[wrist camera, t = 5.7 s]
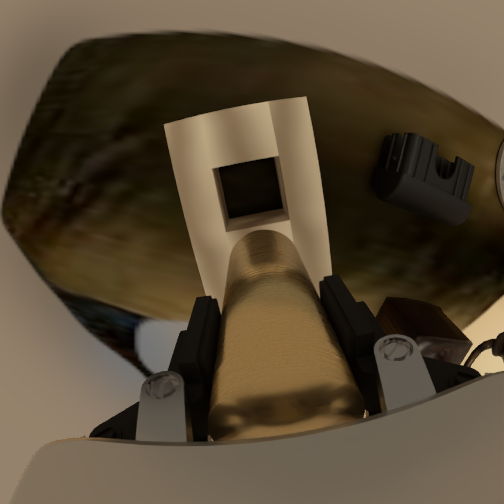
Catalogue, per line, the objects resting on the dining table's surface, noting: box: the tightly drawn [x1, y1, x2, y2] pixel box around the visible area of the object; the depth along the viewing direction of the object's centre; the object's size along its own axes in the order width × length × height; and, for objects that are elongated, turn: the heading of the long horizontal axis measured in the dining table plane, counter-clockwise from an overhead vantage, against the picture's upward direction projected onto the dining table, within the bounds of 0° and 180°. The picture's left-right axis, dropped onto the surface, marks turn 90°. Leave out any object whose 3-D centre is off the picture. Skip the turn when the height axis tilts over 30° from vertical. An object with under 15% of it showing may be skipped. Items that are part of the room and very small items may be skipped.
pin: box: [208, 229, 365, 441], centre depth 11 cm, size 4×4×11 cm
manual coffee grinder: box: [376, 298, 504, 367], centre depth 27 cm, size 16×11×18 cm
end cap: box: [374, 133, 474, 226], centre depth 25 cm, size 10×7×7 cm
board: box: [164, 97, 332, 314], centre depth 28 cm, size 12×27×5 cm, turn 11°
